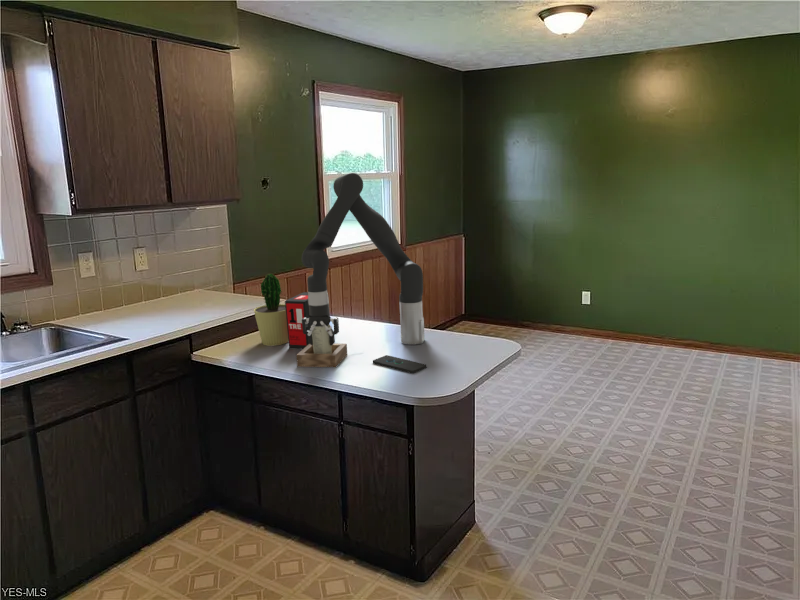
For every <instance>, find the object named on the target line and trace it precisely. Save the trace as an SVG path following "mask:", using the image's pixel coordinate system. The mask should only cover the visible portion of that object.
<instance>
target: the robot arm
mask: <svg viewBox="0 0 800 600" xmlns="http://www.w3.org/2000/svg"><path fill="white" fill-rule="evenodd" d="M363 189H364V181H363V179H362V177H361V175H359V174H357V173H356V172H348V173H345V174H343V175H341V176H339V177H337V178H336V179H335V180H334V182H333V191H334V194H335V196H336V197H337V198H336V200H335V201H334V204H333V205H332V207H331V208H330V209H329V210H328V212H327V214H326V215H325V216H324V218H323V219H322V221H321V223H320V225H319V226H318V229H317V232H315V233H316V234H315V235H314V237H312V239H311V241H310V242H309V243H308V244H307V246H306V247H305V249H303V252H302V254H301V263H302V265H303V266H304V267H305V268H309V269H313V271H312V274H310V275H309V276H308V277H307V292H308V303H309V315H310V318H306V317H305V318H303V319H302V328H303V334H307V335H308V337H309V344H311V345H313V341H312V332H313V330H314V328H315V326H323V327H325V328H326V331H327V332H328V333H329V335H330V336H329V338H330V345H333V344H334V343H336V338H335V335H338V333H339V332H340V327H339V325H340V323H339V317H331V315H330V303H329V294H328V293H329V292H328V286H327V285H328V284H327V282H328V281H327V277H328V272H329V265H330V259H329V256H328V253H327V252H326V251H325V249H328V248H330V247H332V245H333V244H334V241H335V239H336V238H337V235H338V232H339V231H340V229H341V227H342V224H343V222H344V220H345V219H346V216H347V215H348V213H349V212H350V213H351V214H352V216H353V217H354V218H355V220H356V221H357V222H358V224H359V225H360V227H361V228H362V229H363V231H364V232H365V233H366V235H367V237H368V238H369V240H370V241H371V242H372V244H373V245H374V246H375V247H376V249H377V250H378V251H379V252H380V253H381V254H382V255H383V256H384V257H385V259H386V260H387V261H388V263H389V265H390V266H391V268H392V270H393V272H394V273H395V275H396V277H397V279H398V280H399V281H400V293H399V297H398V298H399V300H398V301H399V314H400V315H399V320H400V323H399V324H400V340H401V342H400V343H402V344H404V345H419V344H423V343H424V341H425V339H426V338H425V318H424V315H423V295H424V274H423V269H422V267H421V266H420V265H419V264H418V263H415V262H414V261H412V260H411V258H409V256H408V255H407V253H405V252H404V250H403V249H402V247H401V245H400V243H399V241H398V238H397V235H396V234H395V232H394V230H393V228H392V227H391V225H390V224H389V223H388V222H387V220H386V218H384V216H383V215H381V213H379V212H378V211H377V210H375V209H374V208H372V207H371V206H370V205H369V204H368V203H366V201H365V200H364V199H363V197H362V196H361V195H360V194H361V193H362V191H363ZM308 322H310V323H311V324H312V326H311V328H310V330H309V331H308ZM330 323H332V325H333V327H332V326H331V324H330ZM328 325H330V327H329V328H328V327H327V326H328Z"/></svg>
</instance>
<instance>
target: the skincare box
mask: <svg viewBox="0 0 800 600" xmlns="http://www.w3.org/2000/svg"><path fill="white" fill-rule="evenodd" d="M330 326H331V324H330V325H328V326H327V327H328V328H329V327H330ZM329 336H330V335H329V333H328V332H327V331H326V328H325V327H323V326H315V328H314V330H313V332H312V341H313V350H314V354H332V345H330V338H329Z"/></svg>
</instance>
